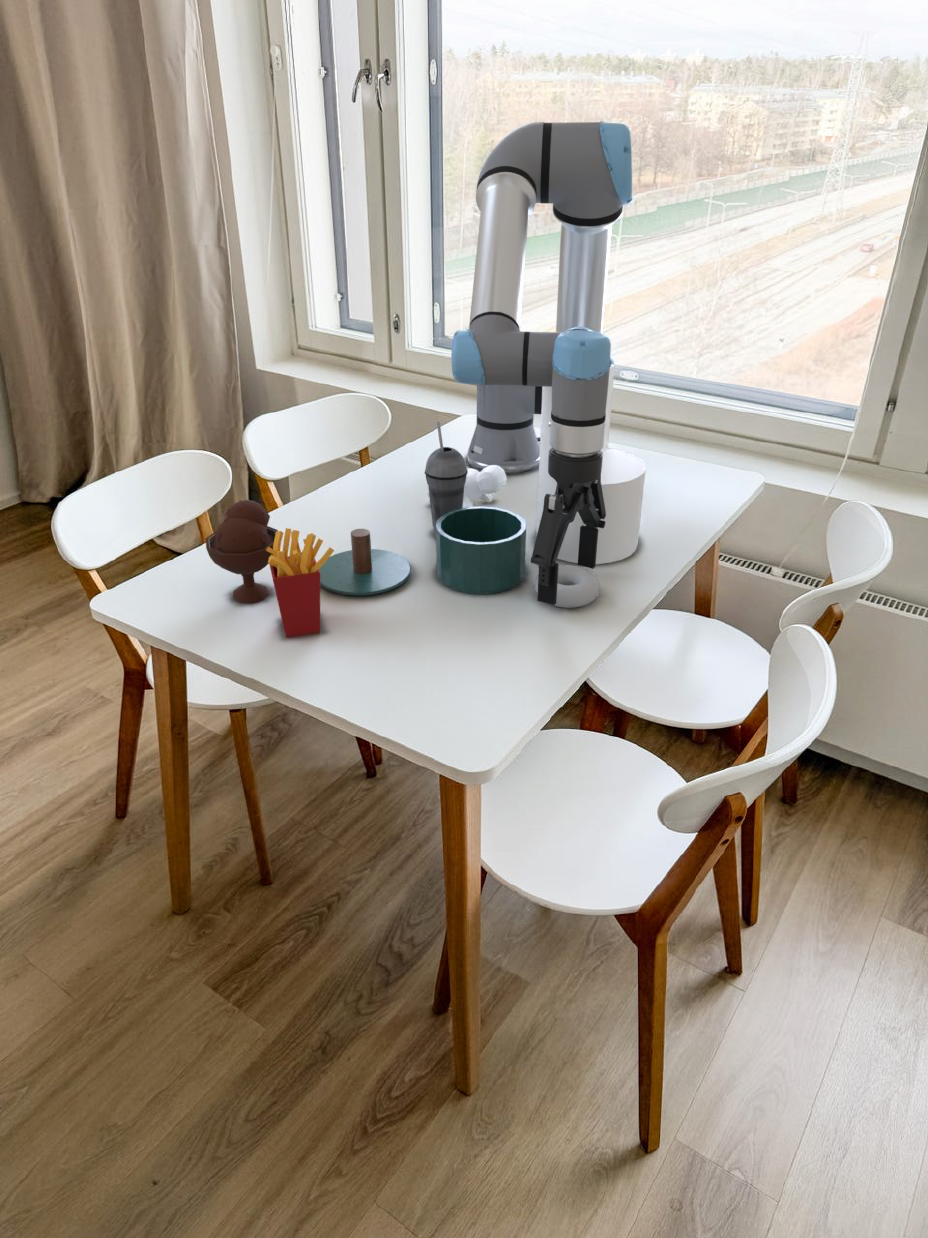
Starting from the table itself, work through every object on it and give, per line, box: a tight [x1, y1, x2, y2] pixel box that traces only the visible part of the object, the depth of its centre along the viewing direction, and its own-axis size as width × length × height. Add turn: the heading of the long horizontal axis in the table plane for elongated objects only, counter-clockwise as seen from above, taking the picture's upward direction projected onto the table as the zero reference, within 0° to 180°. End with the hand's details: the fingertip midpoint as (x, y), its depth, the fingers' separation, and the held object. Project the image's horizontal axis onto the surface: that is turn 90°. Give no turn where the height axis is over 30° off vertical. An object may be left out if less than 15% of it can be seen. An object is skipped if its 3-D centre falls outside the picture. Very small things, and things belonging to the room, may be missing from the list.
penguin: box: [426, 465, 507, 508], centre depth 161 cm, size 9×8×15 cm
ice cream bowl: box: [205, 499, 279, 604], centre depth 131 cm, size 11×11×15 cm
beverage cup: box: [424, 421, 468, 537], centre depth 148 cm, size 7×7×20 cm
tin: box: [435, 505, 527, 595], centre depth 138 cm, size 14×14×8 cm
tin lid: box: [319, 528, 411, 596], centre depth 138 cm, size 15×15×8 cm
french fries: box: [266, 527, 335, 638], centre depth 123 cm, size 9×8×15 cm
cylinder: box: [535, 364, 647, 565], centre depth 143 cm, size 17×17×28 cm
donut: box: [533, 564, 601, 609], centre depth 133 cm, size 10×4×10 cm
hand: (567, 583), depth 133 cm, fingers open, 13 cm apart
